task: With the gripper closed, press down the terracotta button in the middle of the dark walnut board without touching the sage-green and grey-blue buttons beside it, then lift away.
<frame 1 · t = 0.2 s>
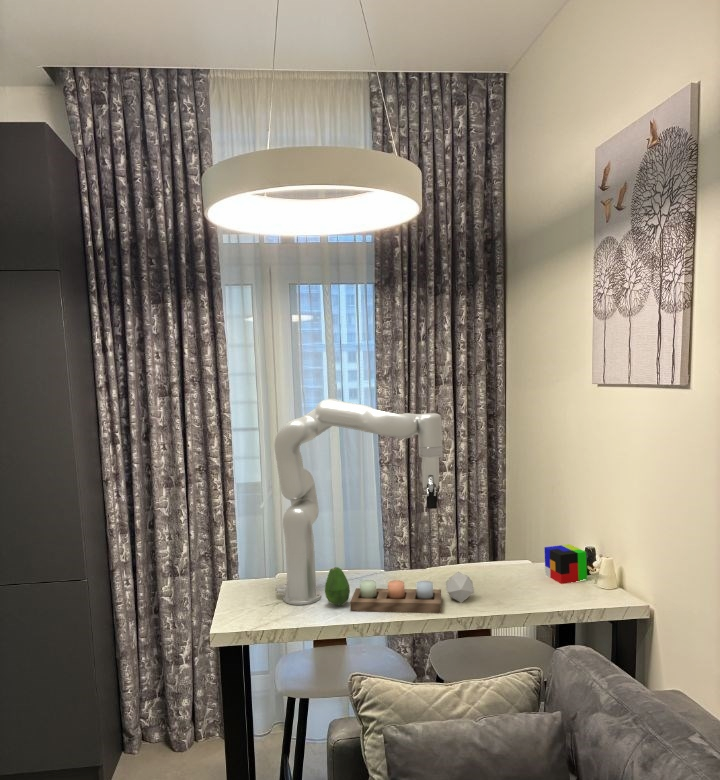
hand: (432, 505, 190), 31 cm above the table, fingers open, 9 cm apart
button blue: (424, 589, 187), point 5 cm above the table, slide at 0.0 cm
die: (460, 599, 191), on the table
button terracotta: (396, 589, 188), point 5 cm above the table, slide at 0.0 cm
puzzle toy: (565, 578, 207), on the table
board: (396, 604, 188), on the table
button sage: (368, 588, 189), point 5 cm above the table, slide at 0.0 cm
avocado: (337, 605, 190), on the table
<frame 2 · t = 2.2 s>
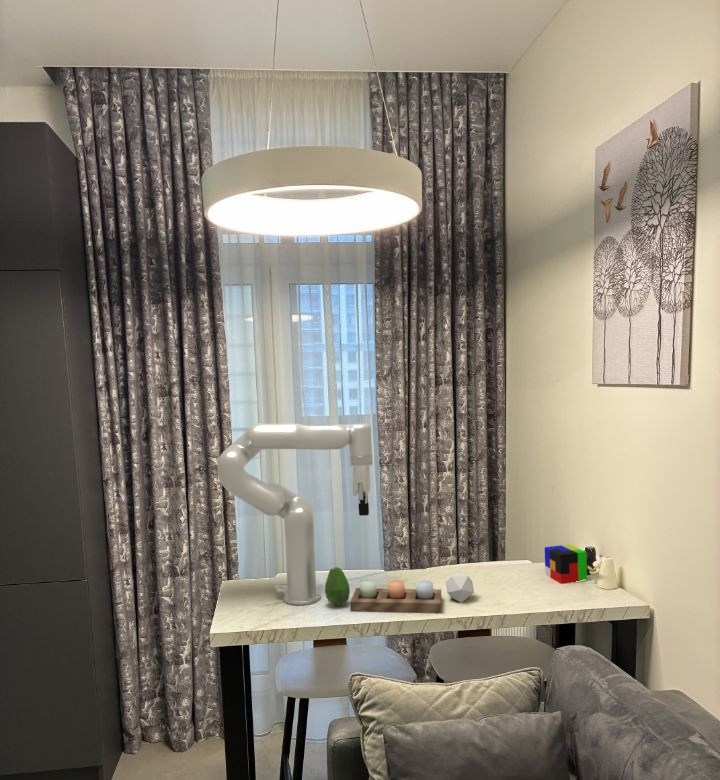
hand: (364, 514, 199), 27 cm above the table, fingers closed
nothing on the table moved.
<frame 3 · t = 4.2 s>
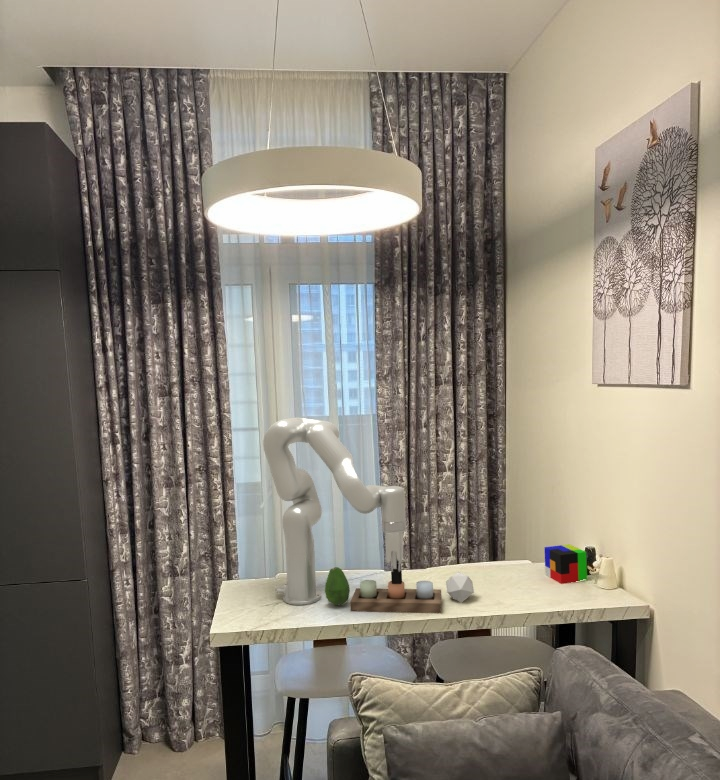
hand: (396, 583, 188), 7 cm above the table, fingers closed
button terracotta: (396, 589, 188), point 5 cm above the table, slide at 0.0 cm, touching gripper
everything else where it was.
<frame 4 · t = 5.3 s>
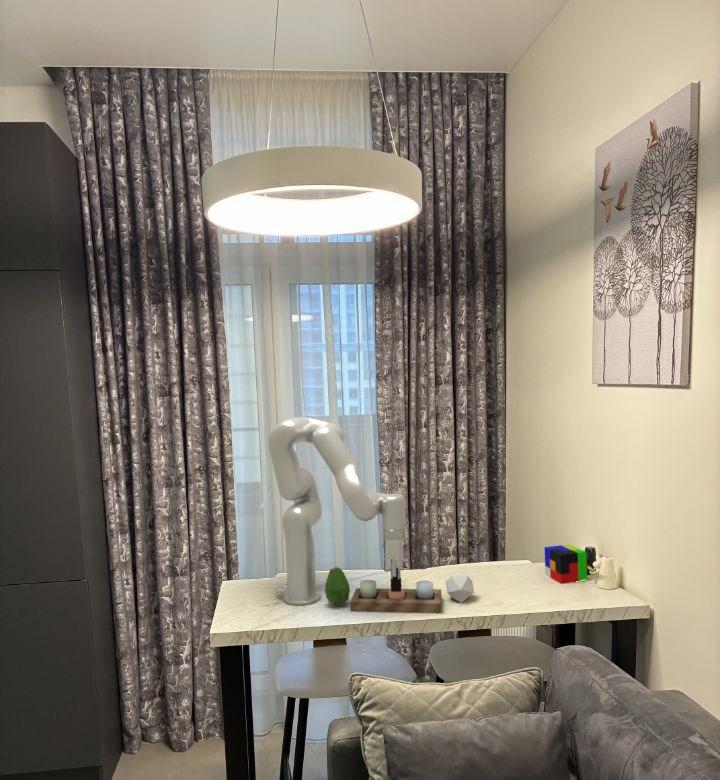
hand: (396, 590, 188), 5 cm above the table, fingers closed
button terracotta: (396, 597, 188), point 2 cm above the table, slide at 2.5 cm, touching board
everything else where it was.
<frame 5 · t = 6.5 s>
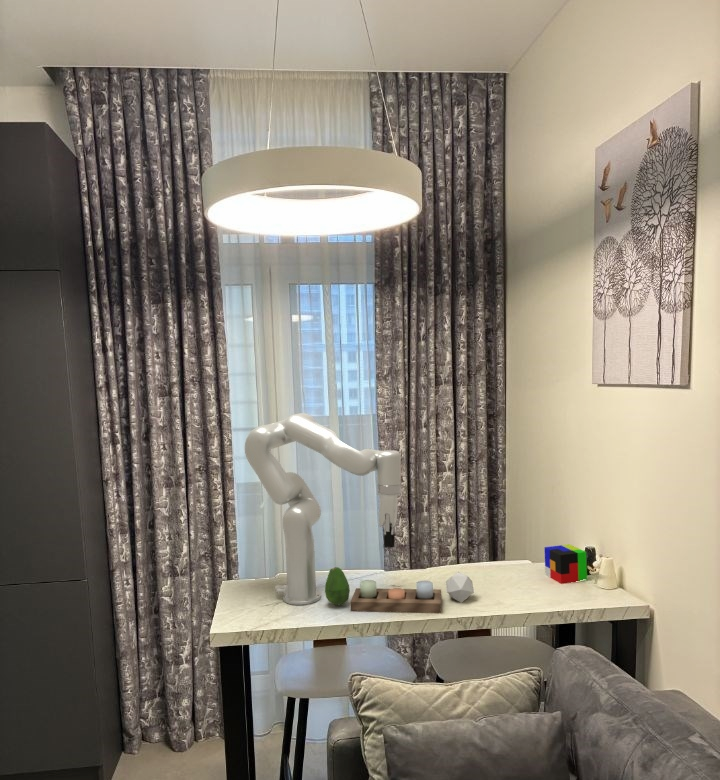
hand: (389, 546, 189), 18 cm above the table, fingers closed
nothing on the table moved.
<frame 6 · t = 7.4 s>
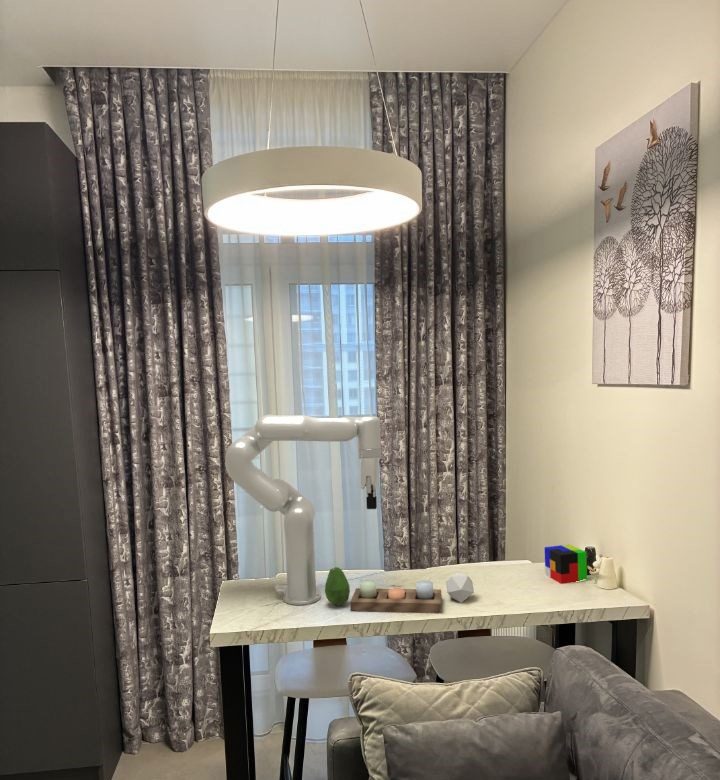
hand: (371, 508, 197), 29 cm above the table, fingers closed
nothing on the table moved.
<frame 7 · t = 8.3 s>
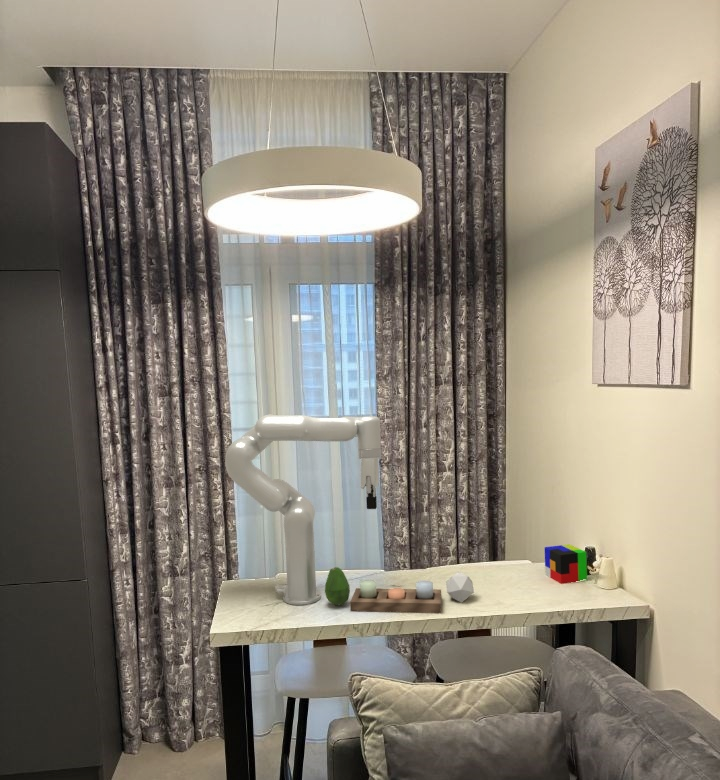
hand: (371, 508, 197), 29 cm above the table, fingers closed
nothing on the table moved.
at the end: button terracotta slide at 2.5 cm; button sage slide at 0.0 cm; button blue slide at 0.0 cm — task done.
